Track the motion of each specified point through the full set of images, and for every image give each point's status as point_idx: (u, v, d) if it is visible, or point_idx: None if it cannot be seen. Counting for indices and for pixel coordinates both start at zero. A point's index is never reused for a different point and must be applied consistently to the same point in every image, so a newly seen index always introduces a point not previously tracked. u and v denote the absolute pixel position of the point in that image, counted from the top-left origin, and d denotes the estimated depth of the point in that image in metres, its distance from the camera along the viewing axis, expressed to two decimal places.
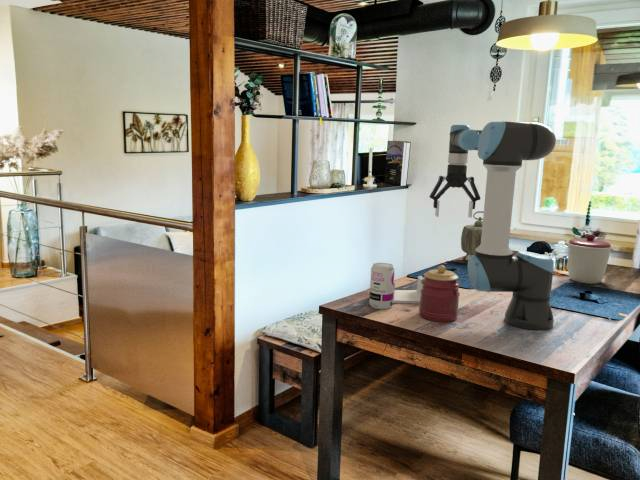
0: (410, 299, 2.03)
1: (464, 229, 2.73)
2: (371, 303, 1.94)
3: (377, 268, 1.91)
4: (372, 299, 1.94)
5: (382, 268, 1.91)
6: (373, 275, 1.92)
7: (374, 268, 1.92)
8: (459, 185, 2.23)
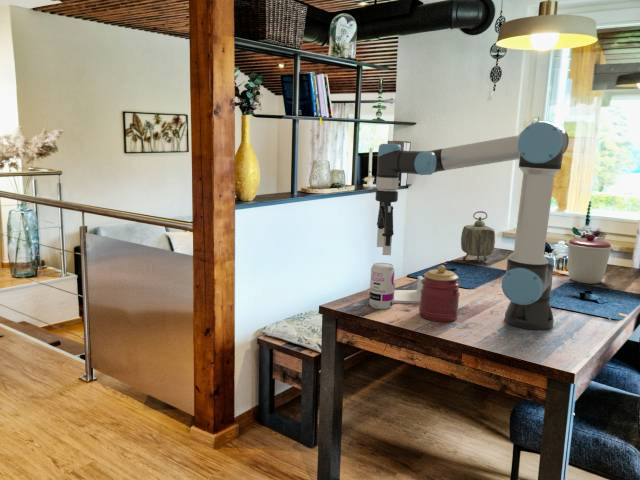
0: (410, 299, 2.03)
1: (464, 229, 2.73)
2: (371, 303, 1.94)
3: (377, 268, 1.91)
4: (372, 299, 1.94)
5: (382, 268, 1.91)
6: (373, 275, 1.92)
7: (374, 268, 1.92)
8: None
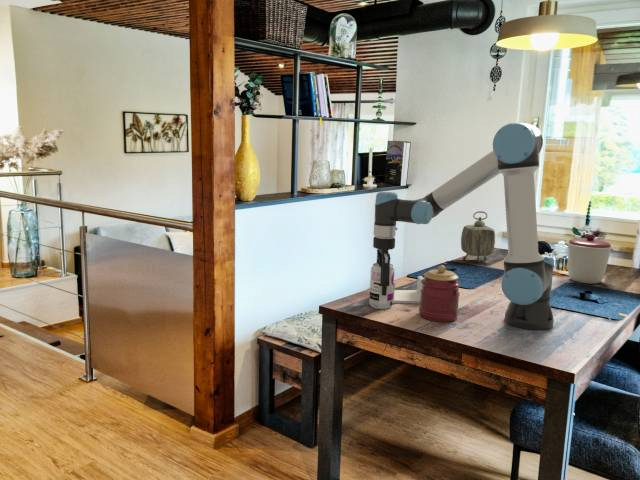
0: (410, 299, 2.03)
1: (464, 229, 2.73)
2: (371, 303, 1.94)
3: (377, 268, 1.91)
4: (372, 299, 1.94)
5: None
6: (373, 275, 1.92)
7: (374, 268, 1.92)
8: None
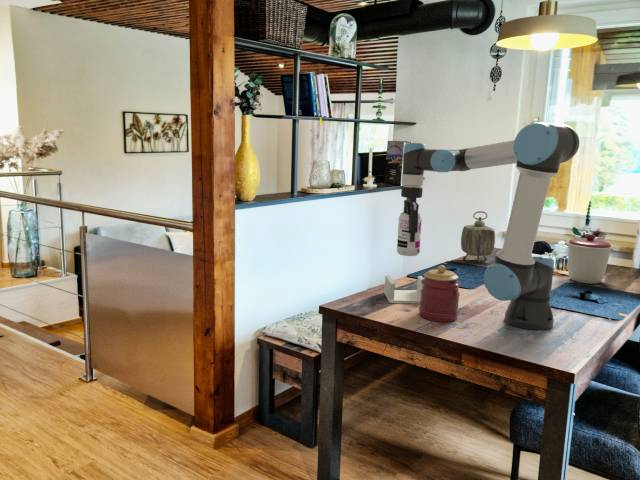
0: (410, 299, 2.03)
1: (464, 229, 2.73)
2: (399, 250, 2.02)
3: (405, 216, 1.99)
4: (400, 246, 2.02)
5: None
6: (401, 223, 2.00)
7: (402, 216, 2.00)
8: None
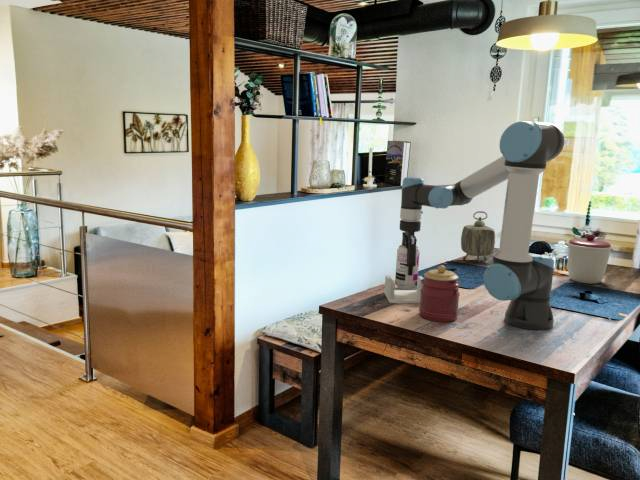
0: (410, 299, 2.03)
1: (464, 229, 2.73)
2: (397, 283, 2.05)
3: (403, 249, 2.02)
4: (398, 279, 2.04)
5: None
6: (399, 256, 2.03)
7: (400, 249, 2.03)
8: None
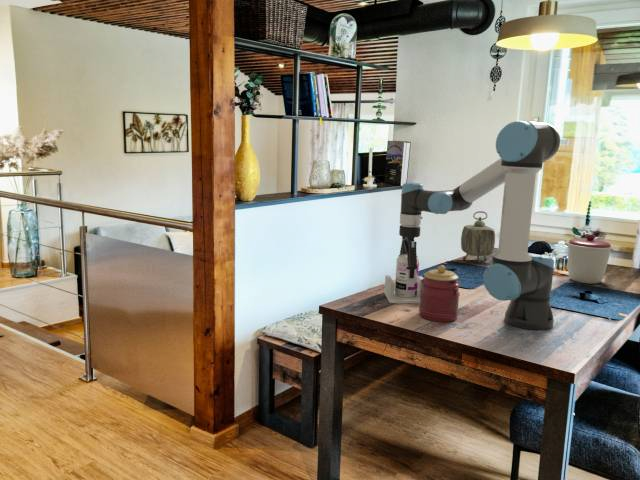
0: (410, 299, 2.03)
1: (464, 229, 2.73)
2: (397, 292, 2.06)
3: (403, 259, 2.02)
4: (398, 288, 2.05)
5: None
6: (399, 265, 2.03)
7: (400, 259, 2.03)
8: None
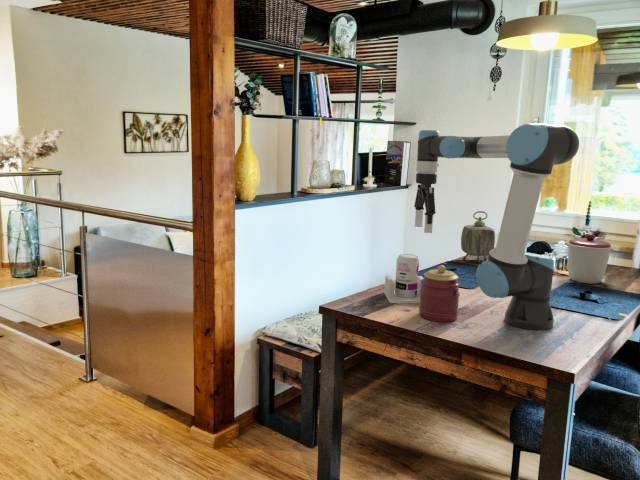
0: (410, 299, 2.03)
1: (464, 229, 2.73)
2: (397, 292, 2.06)
3: (403, 259, 2.02)
4: (398, 288, 2.05)
5: (408, 259, 2.02)
6: (399, 265, 2.03)
7: (400, 259, 2.03)
8: None
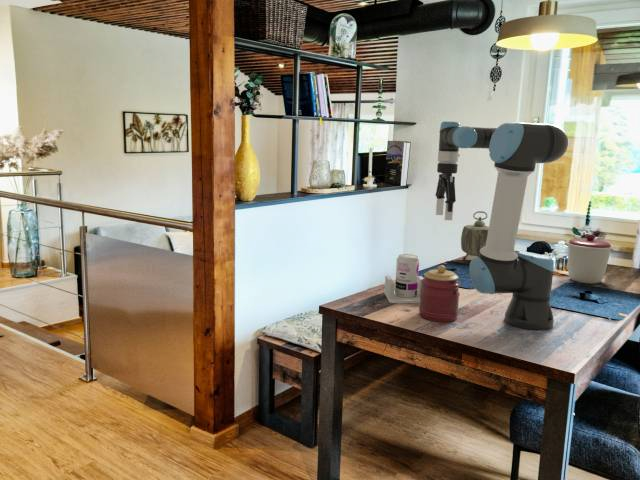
0: (410, 299, 2.03)
1: (464, 229, 2.73)
2: (397, 292, 2.06)
3: (403, 259, 2.02)
4: (398, 288, 2.05)
5: (408, 259, 2.02)
6: (399, 265, 2.03)
7: (400, 259, 2.03)
8: None
